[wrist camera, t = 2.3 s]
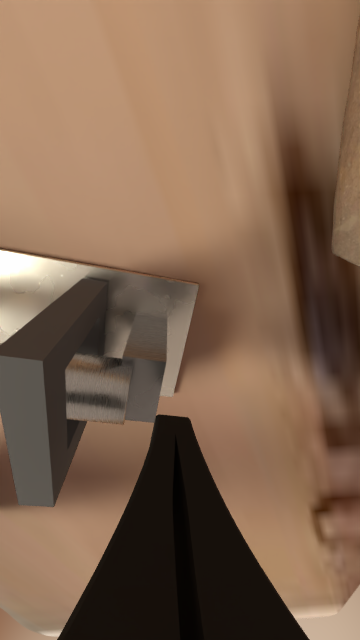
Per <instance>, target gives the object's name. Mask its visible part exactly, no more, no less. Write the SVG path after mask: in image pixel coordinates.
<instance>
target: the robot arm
mask: <svg viewBox="0 0 360 640" xmlns="http://www.w3.org/2000/svg"><path fill="white" fill-rule="evenodd" d="M57 640H309V639H308V637H307V636H306V634H305V633H304V632H303V630H302V628H301V627H300V626H299V624H298V623H297V621H296V620H295V618H294V617H293V615H292V614H291V612H290V611H289V610H288V608H287V606H286V605H285V603H284V602H283V600H282V599H281V597H280V596H279V594H278V593H277V591H276V589H275V588H274V586H273V585H272V583H271V582H270V580H269V579H268V577H267V575H266V574H265V572H264V571H263V569H262V568H261V566H260V565H259V563H258V561H257V560H256V558H255V556H254V555H253V553H252V551H251V550H250V548H249V546H248V544H247V543H246V541H245V539H244V538H243V536H242V534H241V532H240V531H239V529H238V527H237V525H236V523H235V522H234V520H233V518H232V516H231V514H230V512H229V510H228V508H227V506H226V504H225V502H224V500H223V498H222V496H221V494H220V492H219V490H218V488H217V486H216V484H215V482H214V480H213V478H212V475H211V473H210V471H209V468H208V466H207V464H206V462H205V459H204V457H203V454H202V452H201V449H200V447H199V444H198V442H197V439H196V436H195V433H194V430H193V427H192V424H191V421H190V419H189V418H188V417H178V416H169V415H157V416H156V418H155V423H154V427H153V432H152V437H151V442H150V447H149V450H148V453H147V456H146V459H145V462H144V465H143V468H142V470H141V473H140V475H139V478H138V480H137V483H136V485H135V488H134V490H133V493H132V495H131V497H130V500H129V502H128V504H127V506H126V509H125V511H124V513H123V515H122V517H121V519H120V521H119V524H118V526H117V528H116V530H115V532H114V534H113V536H112V538H111V540H110V542H109V544H108V546H107V548H106V550H105V552H104V554H103V556H102V558H101V560H100V562H99V564H98V566H97V568H96V570H95V572H94V574H93V575H92V577H91V579H90V581H89V583H88V585H87V587H86V588H85V590H84V592H83V594H82V596H81V598H80V599H79V601H78V603H77V605H76V607H75V609H74V610H73V612H72V614H71V616H70V618H69V620H68V621H67V623H66V625H65V627H64V629H63V630H62V632H61V634H60V636H59V638H58V639H57Z"/></svg>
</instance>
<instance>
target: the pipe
mask: <svg viewBox="0 0 360 640" xmlns="http://www.w3.org/2000/svg"><path fill="white" fill-rule="evenodd" d="M332 253H333V254H335V255H336V256H340V257H341V258H342V259H345V260H347V261H348V262H350V263H353V264H355V265H357V266H359V267H360V17H359V23H358V28H357V34H356V44H355V52H354V59H353V67H352V74H351V81H350V87H349V93H348V98H347V103H346V108H345V115H344V121H343V128H342V137H341V146H340V155H339V162H338V173H337V184H336V191H335V198H334V212H333V232H332Z"/></svg>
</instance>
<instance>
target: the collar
mask: <svg viewBox="0 0 360 640" xmlns="http://www.w3.org/2000/svg"><path fill="white" fill-rule="evenodd" d="M107 284H108V282H103V281H97V280H91V279H85V278H82V279H81V280H80V281H78V282H77V283H76V284H75V285H73V286H72V287H71V288H70V289H69V290H67V291H66V292H65V293H64V294H62V295H61V296H60V297H59V298H57V299H56V300H55V301H54V302H53V303H51V304H50V305H49V306H48V307H46V308H45V309H44V310H43V311H42V312H40V313H39V314H38V315H37V316H35V317H34V318H33V319H32V320H30V321H29V322H28V323H27V324H26V325H24V326H23V327H22V328H21V329H19V330H18V331H17V332H16V333H15V334H13V335H12V336H11V337H10V338H8V339H7V340H6V341H5V342H3V343H2V344H1V345H0V412H1V418H2V423H3V428H4V433H5V438H6V443H7V448H8V453H9V458H10V463H11V468H12V474H13V479H14V484H15V489H16V494H17V499H18V504H19V505H28V506H46V507H54V506H55V503H56V500H57V498H58V495H59V493H60V490H61V487H62V485H63V482H64V480H65V477H66V475H67V472H68V469H69V467H70V464H71V462H72V459H73V456H74V454H75V451H76V449H77V446H78V443H79V441H80V438H81V436H82V433H83V431H84V428H85V425H86V423H87V421H81V420H71V419H67V415H66V379H65V369H66V368H67V366H68V365H69V363H70V361H71V360H72V358H73V357H74V355H75V354H76V353H84V354H92V355H99V356H103V352H104V335H105V318H106V301H107Z"/></svg>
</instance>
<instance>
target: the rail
mask: <svg viewBox="0 0 360 640" xmlns="http://www.w3.org/2000/svg"><path fill="white" fill-rule="evenodd" d="M82 278H85V279H91V280H97V281H103V282H108V284H107V301H106V318H105V335H104V352H103V356H99V355H92V354H84V353H76V354H75V355H74V357H73V358H72V360H71V361H70V363H69V365H68V366H67V368H66V369H65V379H66V415H67V419H71V420H81V421H91V422H102V423H112V424H122V425H124V422H125V420H132V421H142V422H152V423H154V421H155V416H156V411H157V406H158V401H159V397H160V396H167V397H173V394H174V390H175V385H176V381H177V377H178V373H179V368H180V364H181V360H182V356H183V351H184V347H185V343H186V339H187V335H188V330H189V326H190V322H191V318H192V313H193V309H194V305H195V301H196V296H197V292H198V288H199V284H198V283H193V282H188V281H182V280H176V279H171V278H165V277H159V276H154V275H148V274H142V273H137V272H131V271H125V270H120V269H114V268H108V267H103V266H97V265H91V264H86V263H80V262H74V261H69V260H63V259H57V258H52V257H46V256H40V255H35V254H29V253H23V252H18V251H12V250H6V249H1V248H0V345H1V344H2V343H3V342H5V341H6V340H7V339H8V338H10V337H11V336H12V335H13V334H15V333H16V332H17V331H18V330H19V329H21V328H22V327H23V326H24V325H26V324H27V323H28V322H29V321H30V320H32V319H33V318H34V317H35V316H37V315H38V314H39V313H40V312H42V311H43V310H44V309H45V308H46V307H48V306H49V305H50V304H51V303H53V302H54V301H55V300H56V299H57V298H59V297H60V296H61V295H62V294H64V293H65V292H66V291H67V290H69V289H70V288H71V287H72V286H73V285H75V284H76V283H77V282H78V281H80V280H81V279H82ZM0 413H1V412H0Z"/></svg>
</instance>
